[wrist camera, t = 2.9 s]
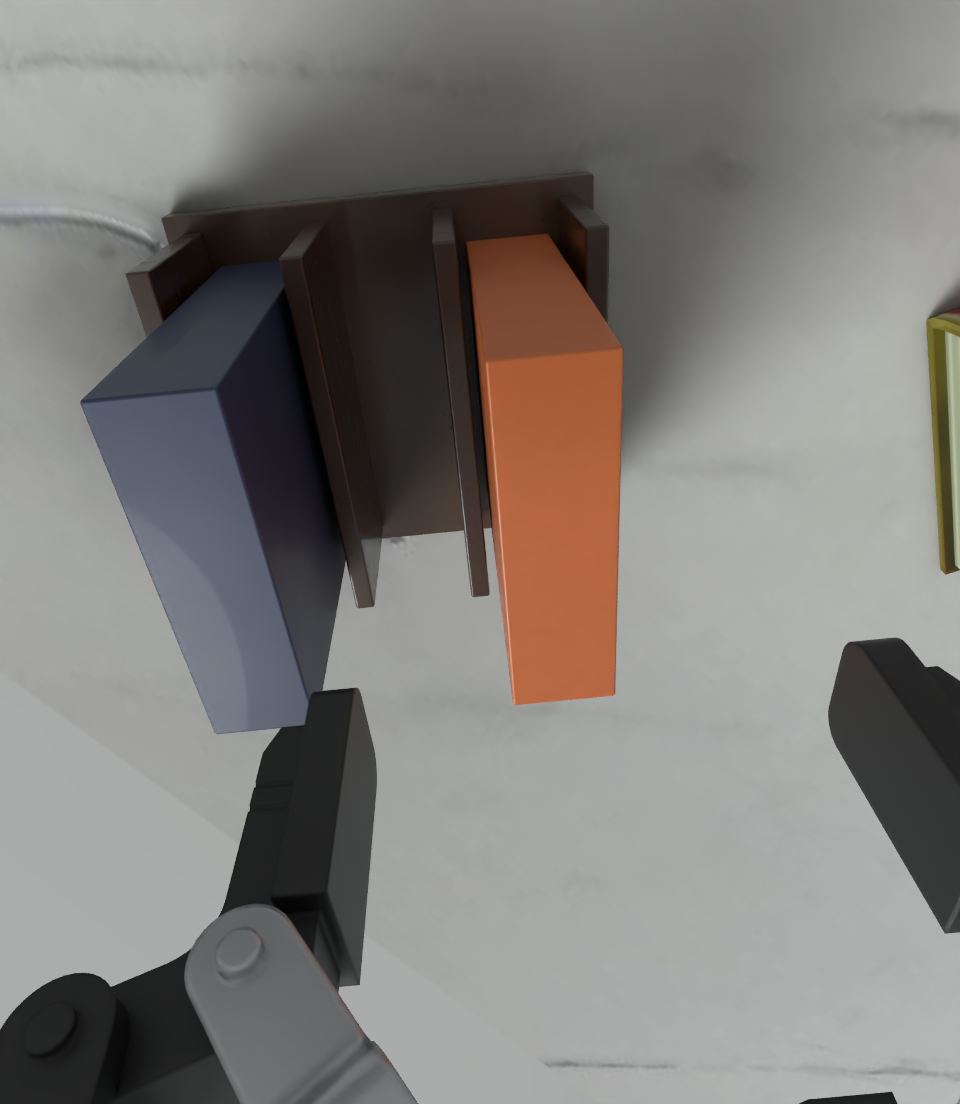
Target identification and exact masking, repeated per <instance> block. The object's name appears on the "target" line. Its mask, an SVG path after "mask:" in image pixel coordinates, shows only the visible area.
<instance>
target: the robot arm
mask: <svg viewBox="0 0 960 1104" xmlns="http://www.w3.org/2000/svg"><path fill="white" fill-rule="evenodd" d="M828 719H829V726H830V731H831V734H832V737H833V740H834V742H835V745H836V747H837V748H838V750H839V752H840V754H841V755H842V757H843V759H844V760H845V762H846V764H847V766H848V767H849V769H850V771H851V772H852V774H853V776H854V778H855V779H856V781H857V783H858V785H859V786H860V788H861V790H862V791H863V793H864V795H865V797H866V798H867V800H868V802H869V803H870V805H871V807H872V809H873V810H874V812H875V814H876V816H877V817H878V819H879V821H880V822H881V824H882V826H883V828H884V829H885V831H886V833H887V834H888V836H889V838H890V840H891V841H892V843H893V845H894V847H895V848H896V850H897V852H898V853H899V855H900V857H901V859H902V860H903V862H904V864H905V865H906V867H907V869H908V871H909V872H910V874H911V876H912V877H913V879H914V881H915V883H916V884H917V886H918V888H919V890H920V891H921V893H922V895H923V896H924V898H925V900H926V902H927V903H928V905H929V907H930V908H931V910H932V912H933V914H934V915H935V917H936V919H937V921H938V922H939V924H940V926H941V927H942V929H943V931H944V933H956V932H960V681H959V680H958V679H956V678H955V677H953V676H952V675H950V674H949V673H947V672H946V671H944V670H943V669H941V668H940V667H938V666H935V667H925V666H924V665H923V663H922V662H921V661H920V660H919V658H918V657H917V656H916V655H915V653H914V652H913V651H912V650H911V649H910V647H909V646H908V645H907V644H906V643H905V642H904V641H903V640H901V639H899V638H886V639H876V640H865V641H855V642H849V643H847V644H846V646H845V647H844V649H843V652H842V656H841V660H840V664H839V668H838V672H837V676H836V680H835V685H834V689H833V693H832V697H831V701H830V705H829V711H828ZM376 787H377V769H376V758H375V751H374V746H373V742H372V738H371V734H370V730H369V726H368V722H367V718H366V713H365V709H364V705H363V701H362V697H361V693H360V691H359V689H358V688H348V689H338V690H328V691H317V692H313V693H312V694H311V696H310V700H309V705H308V709H307V714H306V719H305V724H304V725H299V726H289V727H282V728H281V729H280V730H279V732H278V733H277V735H276V736H275V737H274V739H273V740H272V741H271V743H270V744H269V746H268V747H267V748H266V750H265V751H264V752H263V755H262V759H261V763H260V766H259V770H258V774H257V778H256V788H254V790H253V794H252V798H251V802H250V812H248V814H247V818H246V822H245V826H244V829H243V833H242V837H241V841H240V845H239V849H238V853H237V857H236V861H235V865H234V869H233V873H232V877H231V881H230V885H229V889H228V892H227V896H226V900H225V903H224V906H223V909H222V911H221V913H220V915H219V917H218V918H217V919H216V920H215V921H213V922H212V923H211V924H210V925H209V926H208V927H207V928H206V929H205V930H204V931H203V932H202V933H201V935H200V936H199V937H198V939H197V940H196V942H195V944H194V945H193V947H192V948H191V949H190V950H189V951H188V952H186V953H185V954H183V955H182V956H180V957H179V958H177V959H175V960H173V961H171V962H169V963H167V964H165V965H163V966H160V967H158V968H155V969H153V970H151V971H148V972H146V973H144V974H141V975H139V976H136V977H134V978H131V979H129V980H127V981H124V982H122V983H120V984H117V985H115V986H112V987H110V986H109V984H108V983H107V982H106V981H105V980H103V979H102V978H101V977H99V976H96V975H94V974H89V973H74V974H70V975H65V976H63V977H60V978H57V979H55V980H53V981H51V982H49V983H47V984H45V985H43V986H42V987H40V988H39V989H37V990H36V991H35V992H33V993H32V994H31V995H30V996H28V997H27V998H26V999H25V1000H24V1001H23V1002H22V1003H21V1004H20V1005H19V1006H18V1007H17V1008H16V1009H15V1010H14V1011H13V1012H12V1014H11V1015H10V1016H9V1017H8V1019H7V1020H6V1022H5V1023H4V1025H3V1026H2V1028H1V1030H0V1104H418V1103H417V1101H416V1099H415V1098H414V1096H413V1095H412V1094H411V1092H410V1090H409V1089H408V1088H407V1086H406V1084H405V1083H404V1081H403V1080H402V1078H401V1077H400V1075H399V1074H398V1072H397V1071H396V1069H395V1068H394V1066H393V1065H392V1063H391V1062H390V1061H389V1059H388V1058H387V1056H386V1055H385V1053H384V1052H383V1051H382V1050H381V1048H380V1047H379V1046H378V1045H377V1044H376V1043H375V1042H374V1041H370V1039H369V1038H368V1037H367V1036H366V1034H365V1033H364V1032H363V1030H362V1029H361V1027H360V1026H359V1024H358V1023H357V1021H356V1020H355V1018H354V1017H353V1015H352V1014H351V1012H350V1011H349V1009H348V1007H347V1006H346V1004H345V1003H344V1001H343V1000H342V998H341V997H340V995H339V994H338V991H339V987H342V986H352V985H360V974H361V963H362V950H363V939H364V928H365V916H366V905H367V893H368V881H369V870H370V858H371V846H372V835H373V823H374V811H375V799H376ZM800 1104H897V1102H896V1100H895V1097H894V1095H893V1093H892V1092H886V1093H875V1094H864V1095H853V1096H841V1097H830V1098H819V1099H808V1100H806V1101H804V1102H802V1103H800ZM957 1104H960V1098H959V1100H958V1103H957Z"/></svg>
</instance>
